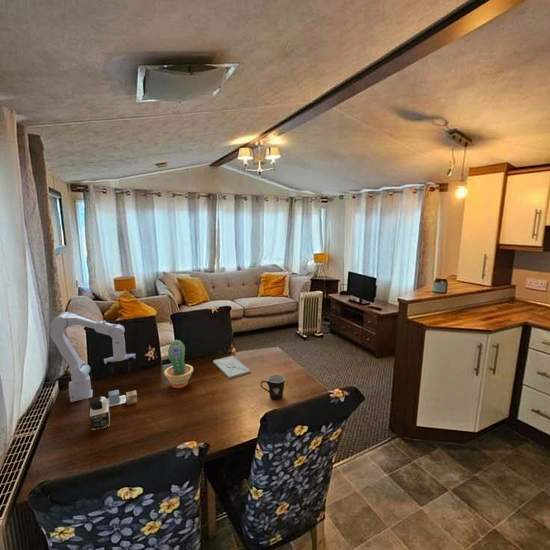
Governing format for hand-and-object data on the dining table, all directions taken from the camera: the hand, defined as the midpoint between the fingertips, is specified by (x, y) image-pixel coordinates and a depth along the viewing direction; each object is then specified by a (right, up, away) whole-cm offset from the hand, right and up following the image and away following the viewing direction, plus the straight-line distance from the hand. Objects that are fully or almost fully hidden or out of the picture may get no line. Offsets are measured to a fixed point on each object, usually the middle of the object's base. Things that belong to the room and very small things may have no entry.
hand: (121, 373), depth 167 cm
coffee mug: (+79, -11, -3) cm, 80 cm away
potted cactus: (+28, -9, +9) cm, 30 cm away
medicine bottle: (+3, -15, -26) cm, 30 cm away
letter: (+1, -11, -8) cm, 14 cm away
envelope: (+53, -6, +29) cm, 61 cm away
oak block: (+9, -12, -8) cm, 17 cm away
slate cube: (+1, -11, -8) cm, 14 cm away
